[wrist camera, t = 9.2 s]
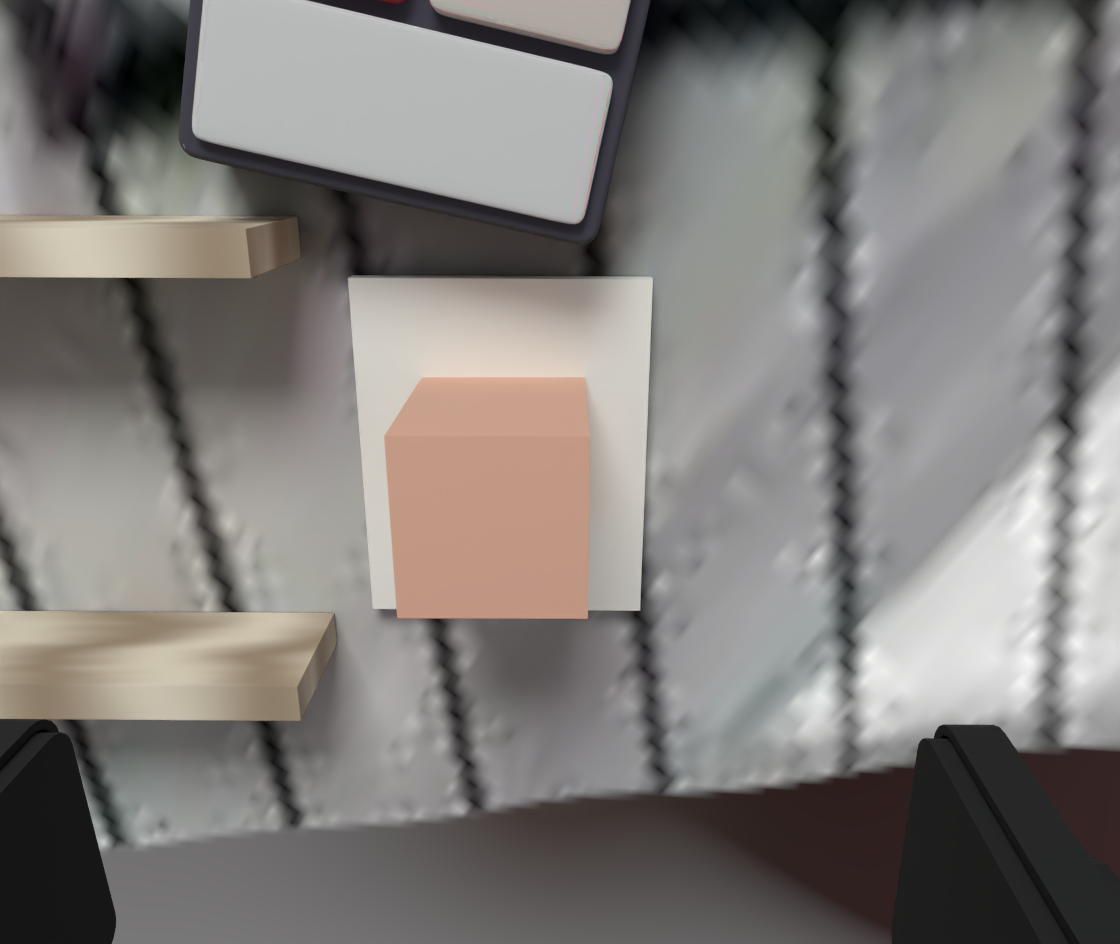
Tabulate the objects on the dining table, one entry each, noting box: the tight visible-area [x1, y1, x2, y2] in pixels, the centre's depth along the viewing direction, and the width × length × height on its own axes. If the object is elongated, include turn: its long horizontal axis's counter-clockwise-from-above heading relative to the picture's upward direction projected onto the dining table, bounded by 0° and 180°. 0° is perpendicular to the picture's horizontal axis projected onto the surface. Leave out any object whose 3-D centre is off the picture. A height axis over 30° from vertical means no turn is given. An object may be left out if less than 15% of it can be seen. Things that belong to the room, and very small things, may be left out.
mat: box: [348, 275, 653, 611], centre depth 28 cm, size 9×11×1 cm
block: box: [384, 377, 590, 619], centre depth 25 cm, size 5×5×6 cm
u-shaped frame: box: [0, 215, 337, 721], centre depth 27 cm, size 15×14×4 cm
